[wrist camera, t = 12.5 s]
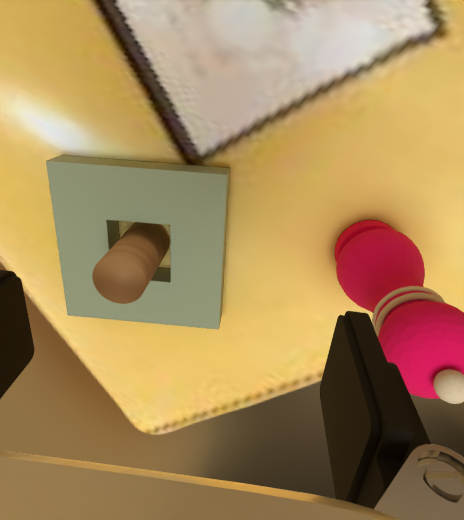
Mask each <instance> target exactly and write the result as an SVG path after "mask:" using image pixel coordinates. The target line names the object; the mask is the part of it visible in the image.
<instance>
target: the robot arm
mask: <svg viewBox="0 0 464 520" xmlns="http://www.w3.org/2000/svg"><path fill="white" fill-rule="evenodd" d="M33 354H34V345H33V339H32V334H31V329H30V323H29V319H28V313H27V308H26V302H25V297H24V292H23V287H22V282H21V279H20V278H19V277H17V276H16V274H15V273H14V272H12V271H5V270H0V398H1V397H2V396H3V395H4V393H5V392H6V391H7V390H8V388H9V387H10V386H11V385H12V383H13V382H14V381H15V380H16V378H17V377H18V376H19V375H20V373H21V372H22V371H23V370H24V368H25V367H26V366H27V365H28V363H29V362H30V361H31V359H32V357H33ZM320 399H321V406H322V412H323V419H324V425H325V432H326V438H327V444H328V451H329V457H330V464H331V469H332V476H333V483H334V489H335V496H336V499H333V498H328V497H323V496H318V495H313V494H307V493H301V492H295V491H288V490H282V489H276V488H270V487H263V486H256V485H250V484H243V483H237V482H230V481H223V480H215V479H208V478H201V477H194V476H187V475H180V474H173V473H166V472H158V471H152V470H144V469H137V468H130V467H122V466H115V465H107V464H100V463H93V462H85V461H78V460H70V459H63V458H55V457H47V456H41V455H33V454H25V453H18V452H10V451H2V450H0V520H464V458H463V457H462V456H460V455H459V454H457V453H456V452H453V451H451V450H450V449H448V448H445V447H442V446H438V445H432V444H431V443H430V441H429V439H428V436H427V434H426V431H425V429H424V427H423V424H422V422H421V420H420V417H419V415H418V413H417V410H416V408H415V406H414V403H413V402H412V399H411V396H410V394H409V392H408V389H407V387H406V385H405V382H404V380H403V378H402V375H401V373H400V371H399V369H398V367H397V365H396V364H394V363H391V362H387V359H386V357H385V354H384V352H383V349H382V347H381V344H380V342H379V339H378V337H377V334H376V332H375V329H374V327H373V324H372V322H371V319H370V317H369V315H368V314H367V313H361V312H352V311H347V312H346V313H345V316H343V315H339V317H338V319H337V323H336V327H335V331H334V334H333V338H332V342H331V346H330V350H329V354H328V358H327V362H326V365H325V369H324V373H323V377H322V381H321V385H320Z"/></svg>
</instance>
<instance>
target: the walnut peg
mask: <svg viewBox="0 0 464 520" xmlns="http://www.w3.org/2000/svg"><path fill="white" fill-rule="evenodd" d="M169 245H170V239H169V235H168V233H167V231H166V230H165V228H164V227H163V226H162V225H160V224H153V223H141V222H136V223H134V224H133V225H132V226H131V227H130V228H129V229H128V231H127V232H126V233H125V234H124V235H123V236H122V237H121V238H120V239H119V240H118V241H117V242H116V243H115V245H114V246H113V247H112V248H111V249H110V250H109V251H108V252H107V253H106V254H105V255H104V256H103V257H102V259H101V260H100V261H99V262H98V263H97V264H96V265H95V267H94V269H93V274H92V279H93V283H94V286H95V288H96V289H97V291H98V292H99V293H100V294H101V295H102V296H103V297H104V298H106V299H107V300H109V301H111V302H114V303H118V304H128V303H132V302H134V301H136V300H138V299H139V298H140V297H141V296H142V294H143V293H144V291H145V289H146V287H147V286H148V284H149V282H150V280H151V279H152V277H153V275H154V273H155V272H156V270H157V268H158V266H159V265H160V263H161V261H162V260H163V258H164V256H165V254H166V253H167V251H168V249H169Z"/></svg>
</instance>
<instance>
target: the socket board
mask: <svg viewBox="0 0 464 520" xmlns="http://www.w3.org/2000/svg"><path fill="white" fill-rule="evenodd" d="M46 164H47V171H48V178H49V185H50V192H51V200H52V207H53V214H54V221H55V228H56V236H57V243H58V250H59V257H60V264H61V272H62V279H63V286H64V293H65V300H66V307H67V315H70V316H80V317H91V318H102V319H113V320H123V321H134V322H145V323H155V324H166V325H177V326H188V327H198V328H209V329H219V326H220V321H221V315H222V301H223V283H224V266H225V248H226V231H227V213H228V196H229V178H230V168H224V167H211V166H198V165H185V164H171V163H158V162H145V161H131V160H118V159H105V158H92V157H78V156H65V155H62V156H59V157H56V158H53V159H50V160H47V161H46ZM118 221H128V222H141V223H153V224H165V225H170V249H171V269H168V268H157V270H156V272H155V273H154V275H153V277H152V279H151V280H150V282H149V284H148V286H147V287H146V289H145V291H144V293H143V294H142V296H141V297H140V298H139V299H138V300H136V301H134V302H132V303H128V304H118V303H114V302H111V301H109V300H107V299H106V298H104V297H103V296H102V295H101V294H100V293H99V292H98V291H97V289H96V288H95V286H94V283H93V279H92V274H93V269H94V267H95V265H96V264H97V263H98V262H99V261H100V260H101V259H102V257H103V256H104V255H105V254H106V253H107V252H108V251H109V250H110V249H111V248H112V247H113V246H114V245H115V243H116V242H117V241H118V240H119V226H118Z"/></svg>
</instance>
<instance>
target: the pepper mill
mask: <svg viewBox="0 0 464 520" xmlns="http://www.w3.org/2000/svg"><path fill="white" fill-rule="evenodd" d="M335 258H336V262H337V266H336V267H337V278H338V281H339V283H340V285H341V287H342V289H343V290H344V292H345V293H346V295H347V296H348V297H349V298H350V299H351V300H352V301H354V302H355V303H356V304H357V305H359V306H361V307H362V308H365V309H367V310H369V311H371V312H373V318H372V324H373V327H374V329H375V332H376V334H377V337H378V339H379V342H380V344H381V347H382V349H383V352H384V354H385V357H386V359H387V362H391V363H394V364H396V365H397V367H398V369H399V371H400V373H401V375H402V378H403V380H404V382H405V385H406V387H407V389H408V392H409V393H410V394H413V395H416V396H420V397H423V398H433V399H435V398H441V399H442V400H444V401H446V402H448V403H453V404H457V403H461V402H463V401H464V313H463V312H462V311H461V310H459V309H458V308H456V307H453V306H451V305H449V304H447V303H445V302H444V300H443V299H442V297H441V296H440V295H438V294H437V293H436V292H434V291H433V290H431V289H428V288H425V287H423V283H424V276H425V270H424V263H423V259H422V256H421V254H420V252H419V250H418V248H417V247H416V245H415V244H414V243H413V242H412V240H410V239H409V238H408V237H407V236H405V235H404V234H402V233H400V232H397V231H395V230H394V229H393V228H391V227H390V226H389V225H387V224H385V223H383V222H380V221H376V220H366V221H361V222H358V223H355V224H353V225H352V226H350V227H348V228H347V229H346V230H345V231H344V232H343V233H342V234H341V236H340V237H339V239H338V241H337V243H336V246H335Z"/></svg>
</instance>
